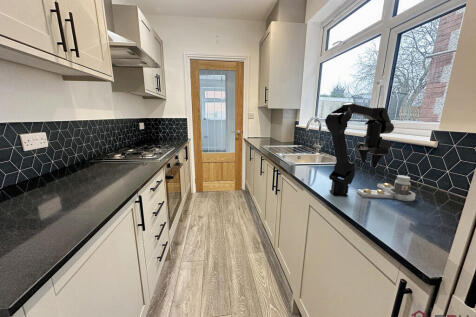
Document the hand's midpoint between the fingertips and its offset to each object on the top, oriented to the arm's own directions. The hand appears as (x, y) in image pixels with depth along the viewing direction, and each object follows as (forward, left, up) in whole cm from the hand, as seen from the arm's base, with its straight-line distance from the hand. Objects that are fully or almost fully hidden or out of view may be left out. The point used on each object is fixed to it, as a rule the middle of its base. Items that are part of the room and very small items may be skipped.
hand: (368, 165), depth 97 cm
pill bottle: (+12, -8, -13) cm, 19 cm away
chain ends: (+5, -4, -13) cm, 15 cm away
